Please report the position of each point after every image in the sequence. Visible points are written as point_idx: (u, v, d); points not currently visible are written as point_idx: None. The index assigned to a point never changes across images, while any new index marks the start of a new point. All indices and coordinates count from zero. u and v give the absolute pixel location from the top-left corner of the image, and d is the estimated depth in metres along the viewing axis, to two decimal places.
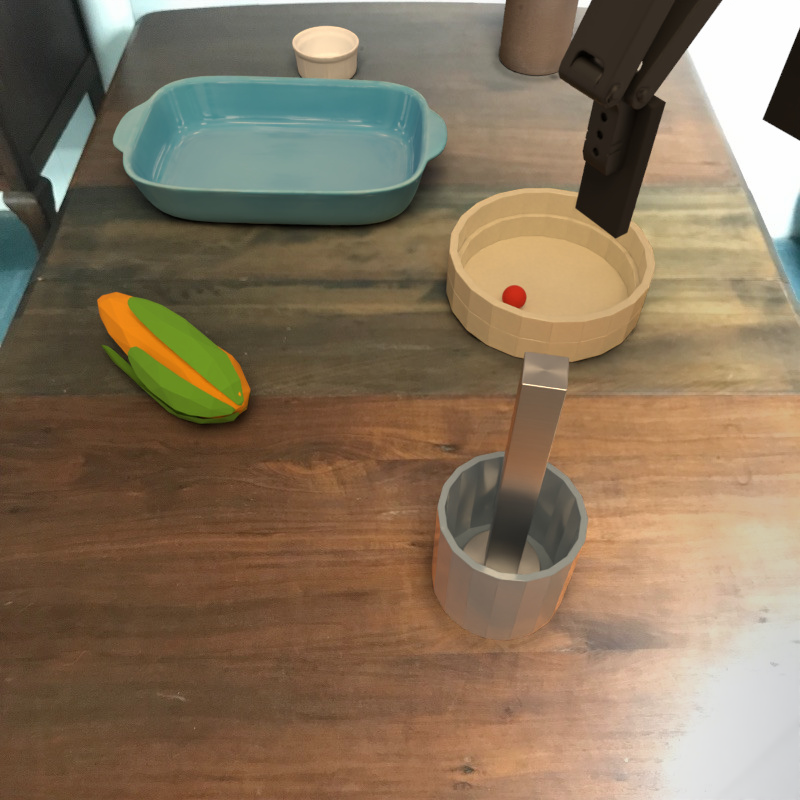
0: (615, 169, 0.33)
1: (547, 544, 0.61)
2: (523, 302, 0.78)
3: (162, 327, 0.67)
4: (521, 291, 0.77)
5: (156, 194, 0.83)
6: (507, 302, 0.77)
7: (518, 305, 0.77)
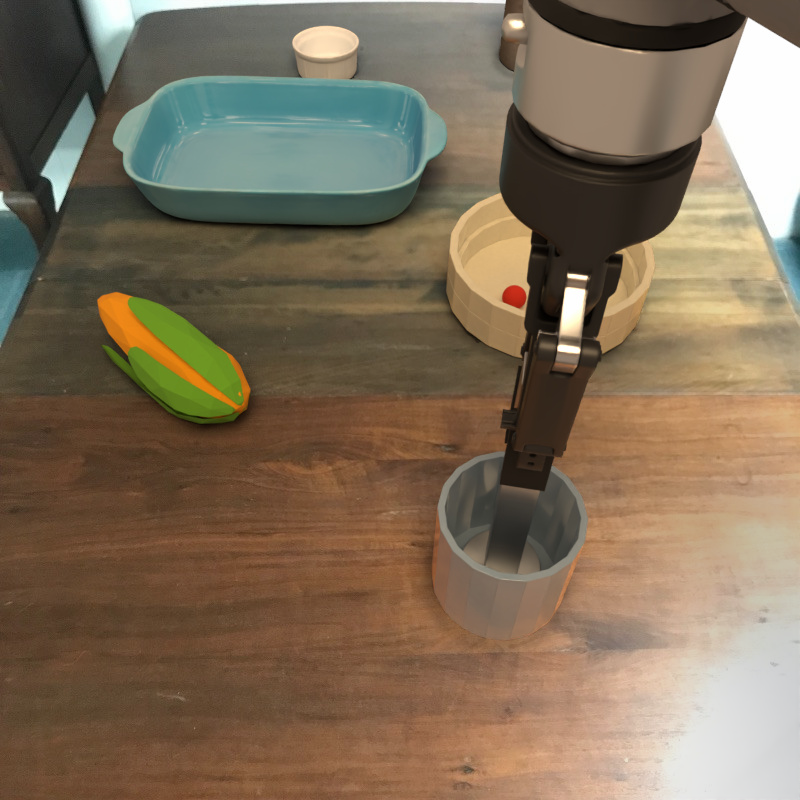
0: None
1: (547, 544, 0.61)
2: (523, 302, 0.78)
3: (162, 327, 0.67)
4: (521, 291, 0.77)
5: (156, 194, 0.83)
6: (507, 302, 0.77)
7: (518, 305, 0.77)
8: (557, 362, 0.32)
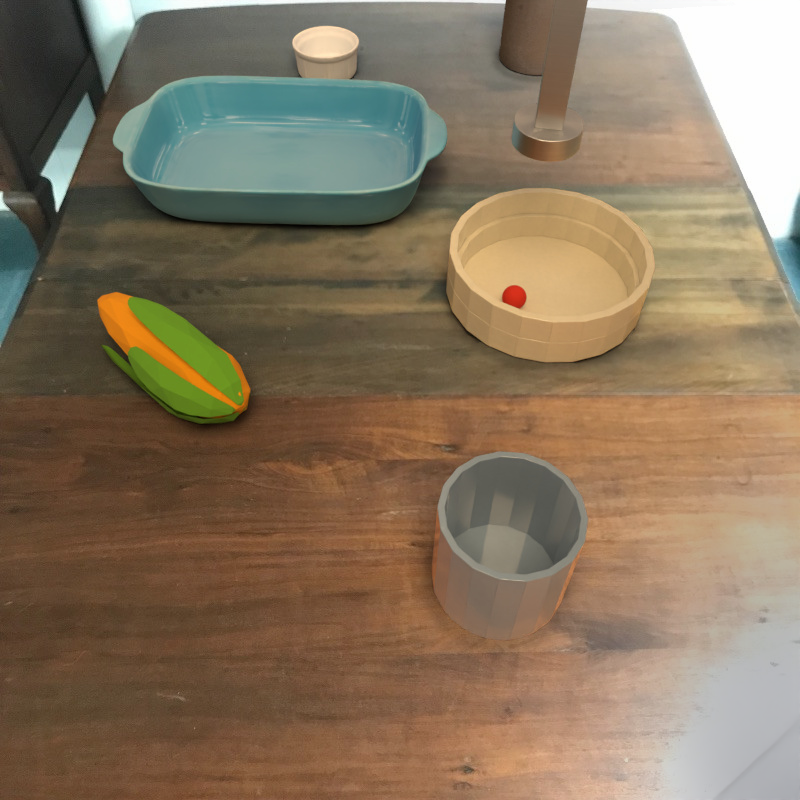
0: None
1: (547, 544, 0.61)
2: (523, 302, 0.78)
3: (162, 327, 0.67)
4: (521, 291, 0.77)
5: (156, 194, 0.83)
6: (507, 302, 0.77)
7: (518, 305, 0.77)
8: None
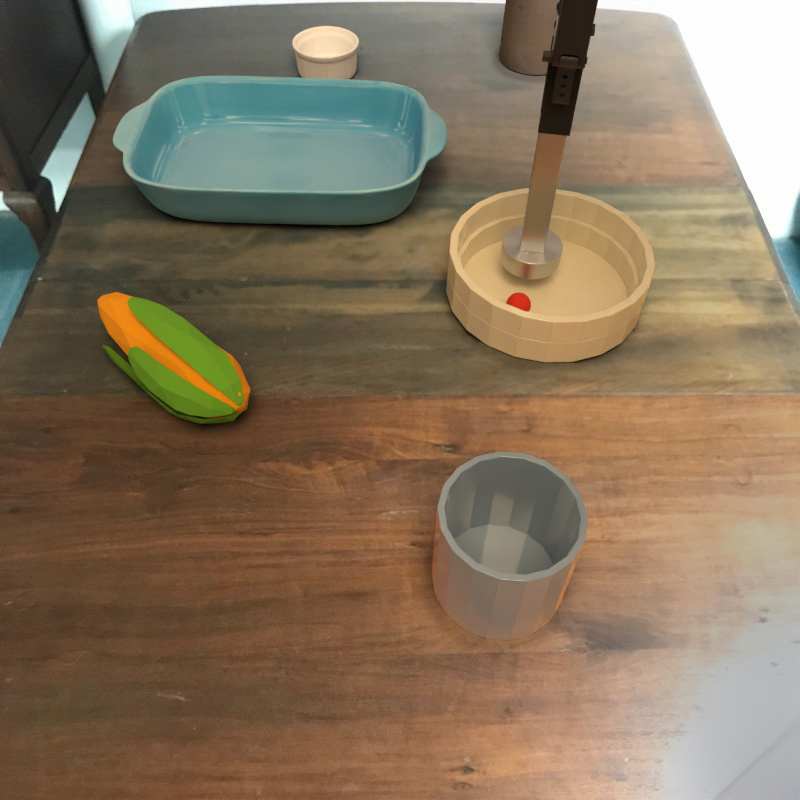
0: None
1: (547, 544, 0.61)
2: None
3: (162, 327, 0.67)
4: (521, 306, 0.76)
5: (156, 194, 0.83)
6: None
7: None
8: None
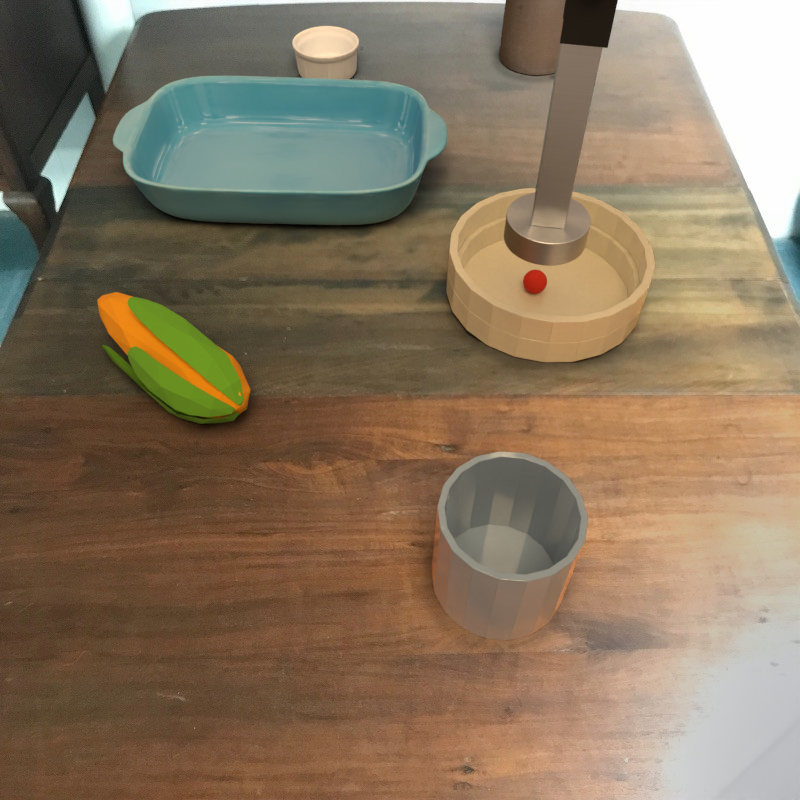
0: None
1: (547, 544, 0.61)
2: (546, 278, 0.80)
3: (162, 327, 0.67)
4: None
5: (156, 194, 0.83)
6: None
7: (543, 273, 0.80)
8: None
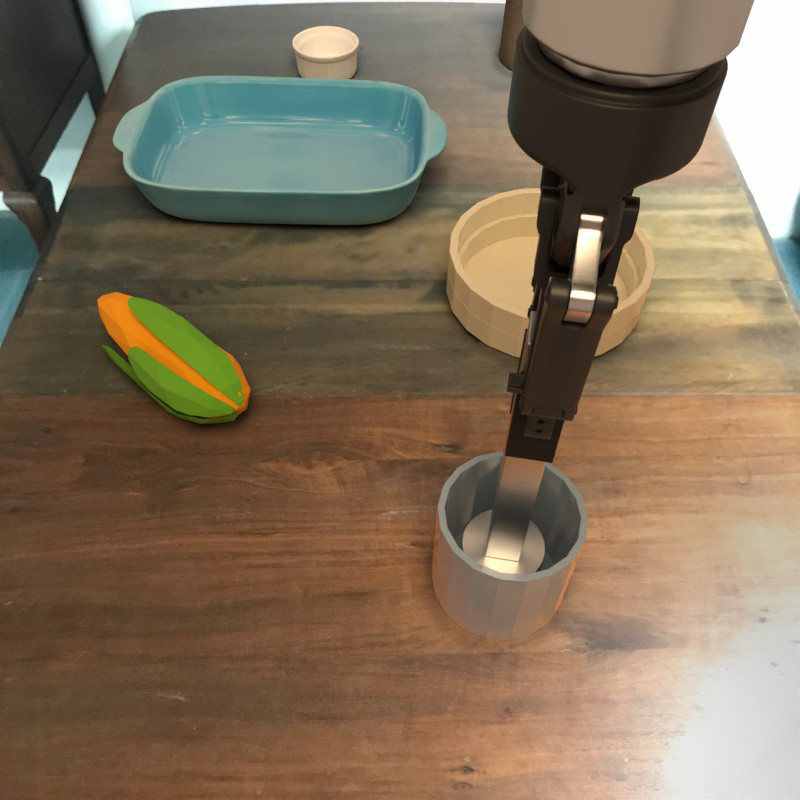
0: None
1: (547, 544, 0.61)
2: None
3: (162, 327, 0.67)
4: None
5: (156, 194, 0.83)
6: None
7: None
8: (570, 310, 0.30)
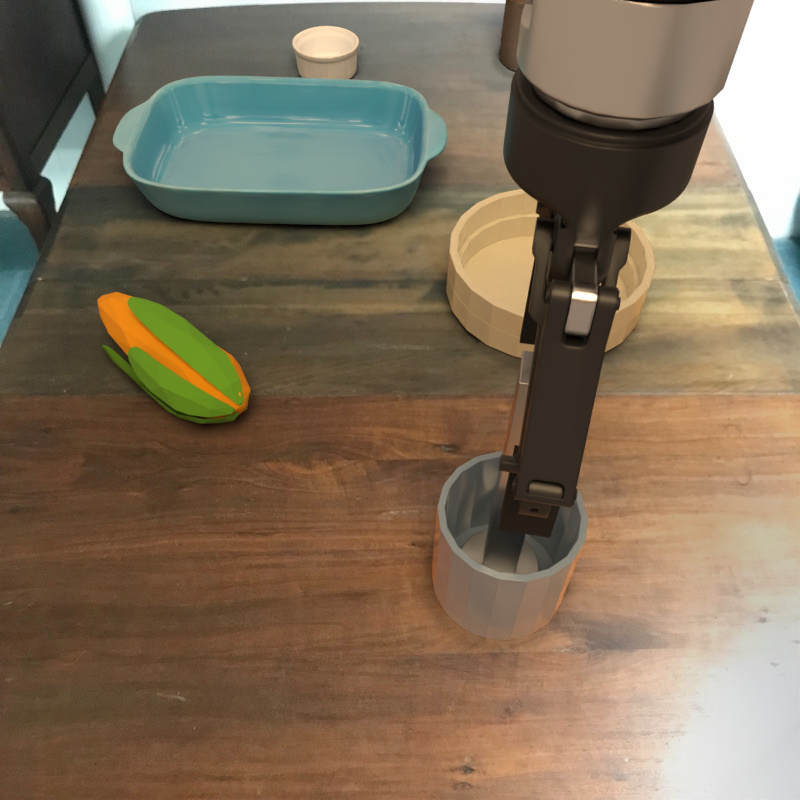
0: None
1: (547, 544, 0.61)
2: None
3: (162, 327, 0.67)
4: None
5: (156, 194, 0.83)
6: None
7: None
8: (573, 304, 0.29)
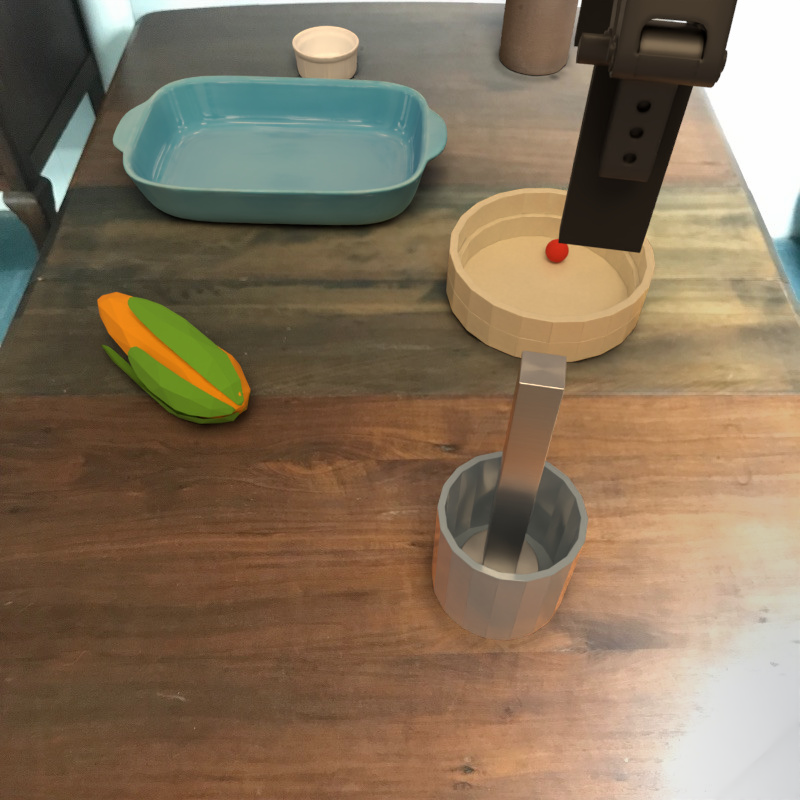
0: None
1: (547, 544, 0.61)
2: (564, 250, 0.82)
3: (162, 327, 0.67)
4: None
5: (156, 194, 0.83)
6: (550, 244, 0.82)
7: (559, 248, 0.81)
8: None
